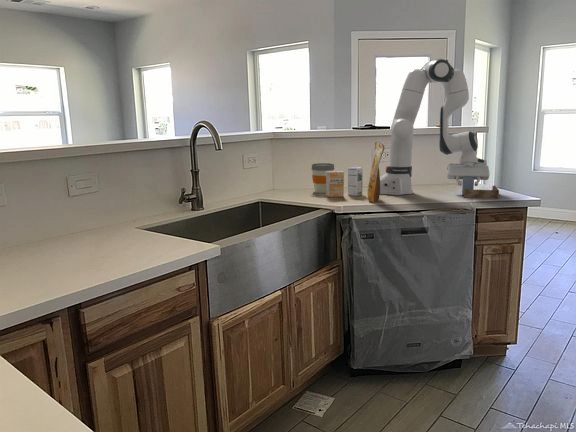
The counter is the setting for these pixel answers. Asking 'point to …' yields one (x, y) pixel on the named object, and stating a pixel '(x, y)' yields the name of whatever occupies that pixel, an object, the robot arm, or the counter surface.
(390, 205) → the counter surface
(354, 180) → the syrup box
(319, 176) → the reusable coffee cup
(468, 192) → the brown wooden tray
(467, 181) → the slate block
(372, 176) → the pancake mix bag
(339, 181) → the supplement box
